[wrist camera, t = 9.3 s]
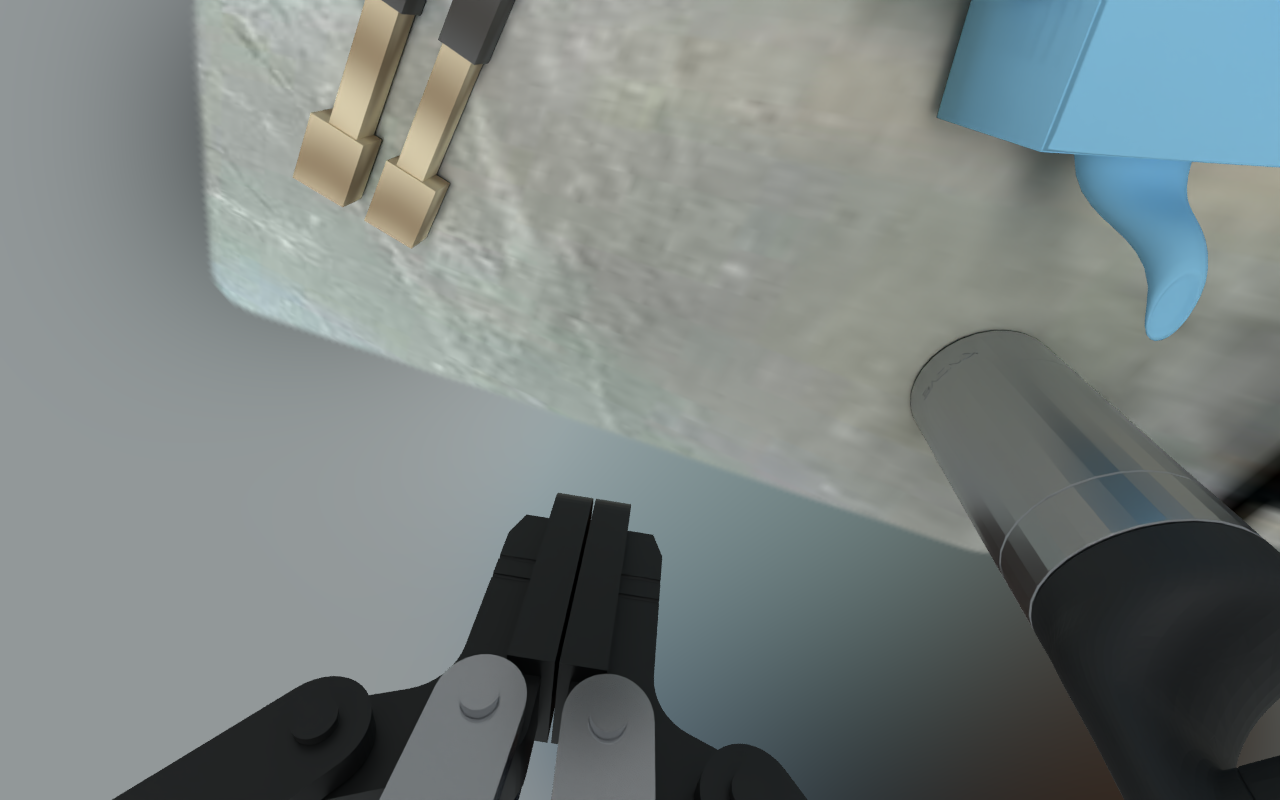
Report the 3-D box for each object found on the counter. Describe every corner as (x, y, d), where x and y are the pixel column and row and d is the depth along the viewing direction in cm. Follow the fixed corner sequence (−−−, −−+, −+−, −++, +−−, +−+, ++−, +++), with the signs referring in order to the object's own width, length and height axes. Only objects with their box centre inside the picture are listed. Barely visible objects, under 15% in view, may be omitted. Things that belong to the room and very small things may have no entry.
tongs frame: (465, -325, 24) (435, -372, 21) (587, -220, 25) (574, -250, 22) (317, 168, 35) (285, 180, 32) (406, 223, 36) (383, 238, 34)
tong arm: (505, -111, 27) (490, -123, 25) (560, -68, 28) (549, -76, 26) (382, 210, 36) (364, 220, 34) (426, 237, 37) (411, 248, 35)
